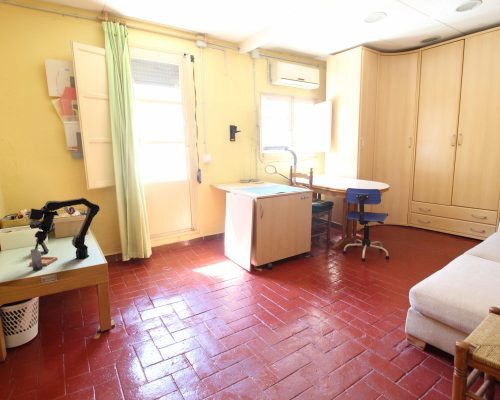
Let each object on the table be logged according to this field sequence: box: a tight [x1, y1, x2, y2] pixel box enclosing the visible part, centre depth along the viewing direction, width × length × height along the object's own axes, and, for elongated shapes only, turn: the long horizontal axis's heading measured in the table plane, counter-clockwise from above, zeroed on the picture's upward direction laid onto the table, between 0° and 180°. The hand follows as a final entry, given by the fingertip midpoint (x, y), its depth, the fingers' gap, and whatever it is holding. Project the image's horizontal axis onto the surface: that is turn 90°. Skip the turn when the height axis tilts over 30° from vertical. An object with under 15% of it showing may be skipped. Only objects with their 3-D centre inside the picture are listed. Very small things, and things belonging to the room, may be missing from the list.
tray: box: [28, 256, 59, 267], centre depth 195 cm, size 11×11×2 cm
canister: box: [29, 247, 44, 272], centre depth 184 cm, size 5×5×13 cm
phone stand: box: [34, 238, 50, 256], centre depth 211 cm, size 9×6×12 cm, turn 118°
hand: (42, 241), depth 192 cm, fingers open, 9 cm apart
